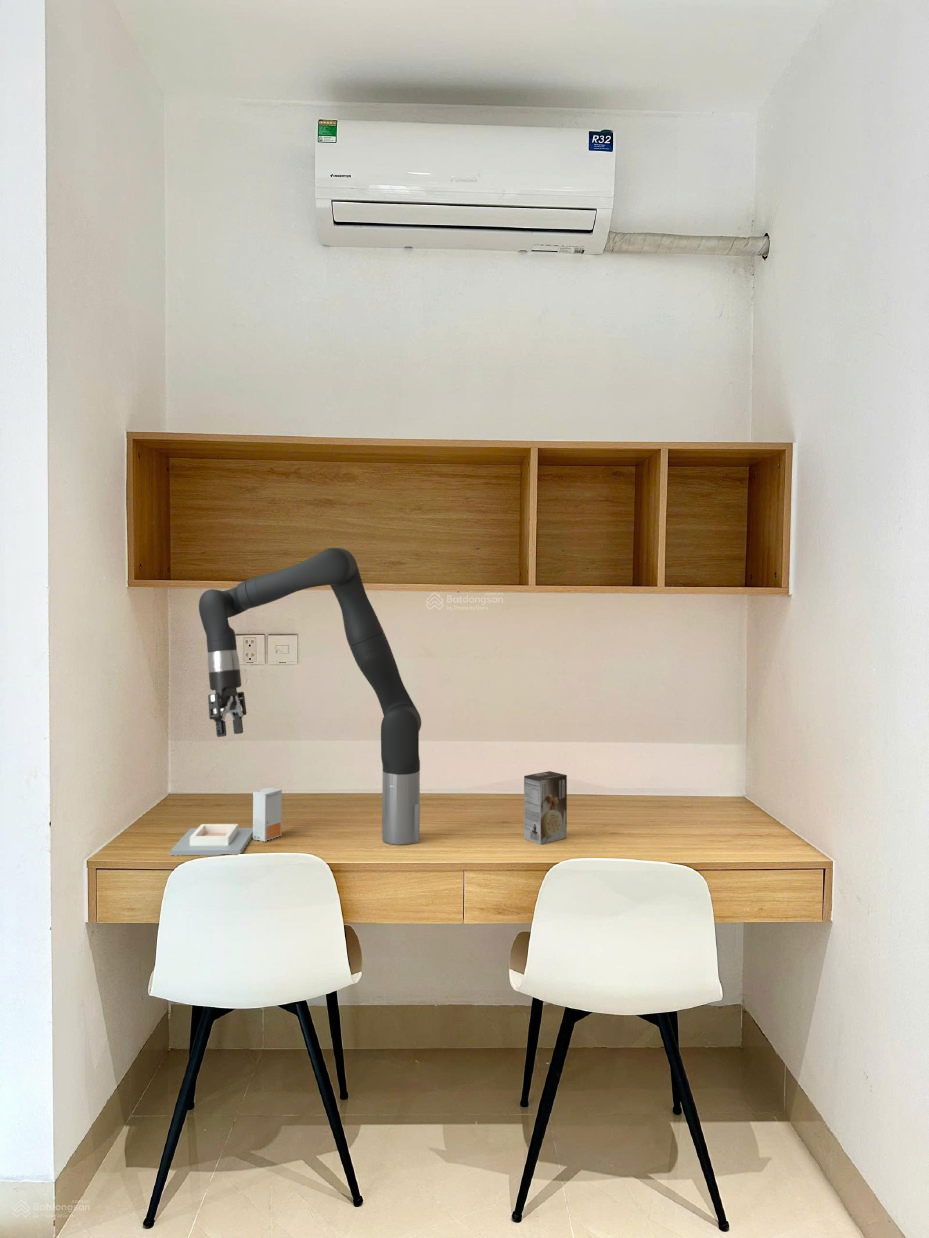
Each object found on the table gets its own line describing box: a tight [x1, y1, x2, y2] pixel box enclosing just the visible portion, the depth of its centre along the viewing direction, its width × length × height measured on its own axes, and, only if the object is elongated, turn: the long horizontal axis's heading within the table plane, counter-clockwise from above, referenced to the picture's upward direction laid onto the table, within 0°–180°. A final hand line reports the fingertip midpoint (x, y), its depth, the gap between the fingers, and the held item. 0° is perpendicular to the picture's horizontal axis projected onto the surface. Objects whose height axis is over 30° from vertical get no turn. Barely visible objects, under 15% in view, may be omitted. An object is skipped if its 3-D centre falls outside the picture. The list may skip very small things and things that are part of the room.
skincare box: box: [252, 786, 283, 843], centre depth 210 cm, size 6×4×12 cm
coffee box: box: [523, 770, 568, 845], centre depth 212 cm, size 9×6×16 cm
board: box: [169, 823, 253, 857], centre depth 206 cm, size 16×18×3 cm
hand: (230, 735), depth 210 cm, fingers open, 8 cm apart
